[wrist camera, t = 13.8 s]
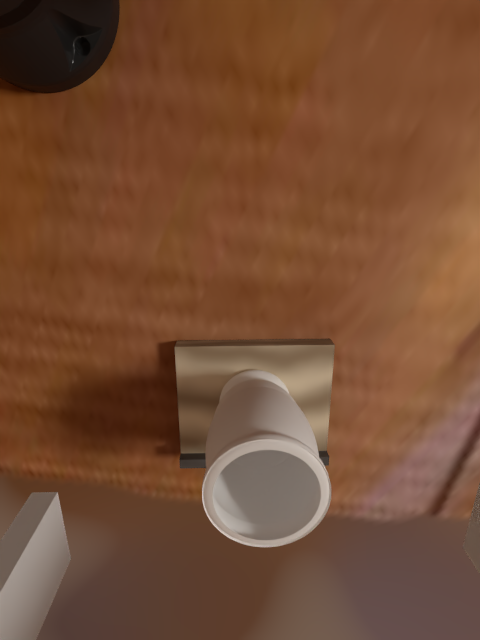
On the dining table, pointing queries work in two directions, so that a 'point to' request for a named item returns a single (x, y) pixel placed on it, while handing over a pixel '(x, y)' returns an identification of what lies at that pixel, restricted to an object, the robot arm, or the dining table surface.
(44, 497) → the robot arm
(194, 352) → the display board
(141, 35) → the dining table surface
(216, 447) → the jar
